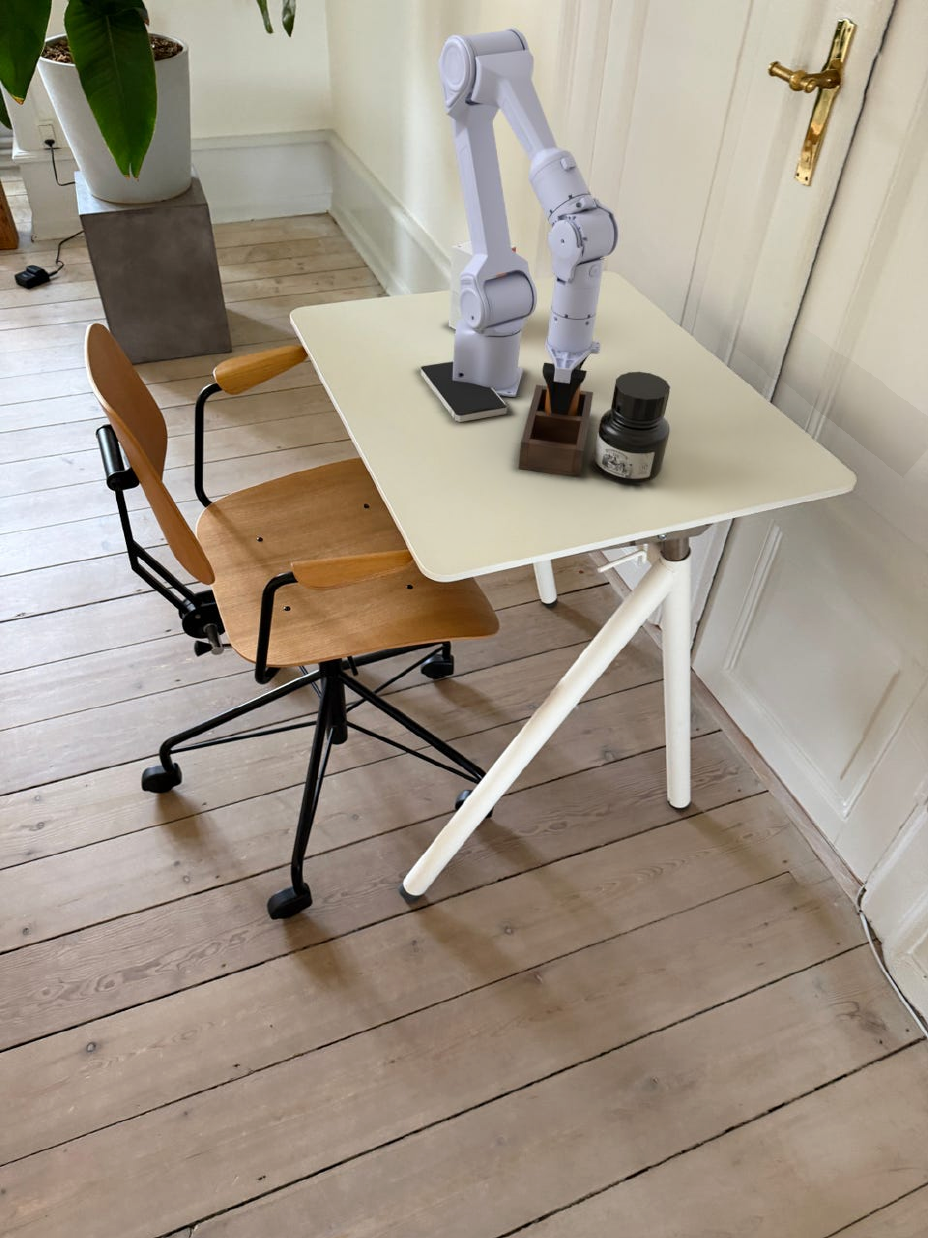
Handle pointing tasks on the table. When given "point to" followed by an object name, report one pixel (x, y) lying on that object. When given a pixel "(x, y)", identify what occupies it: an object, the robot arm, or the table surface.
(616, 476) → the ink bottle
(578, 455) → the holder
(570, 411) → the spice bottle
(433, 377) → the smartphone
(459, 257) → the small box
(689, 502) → the table surface
